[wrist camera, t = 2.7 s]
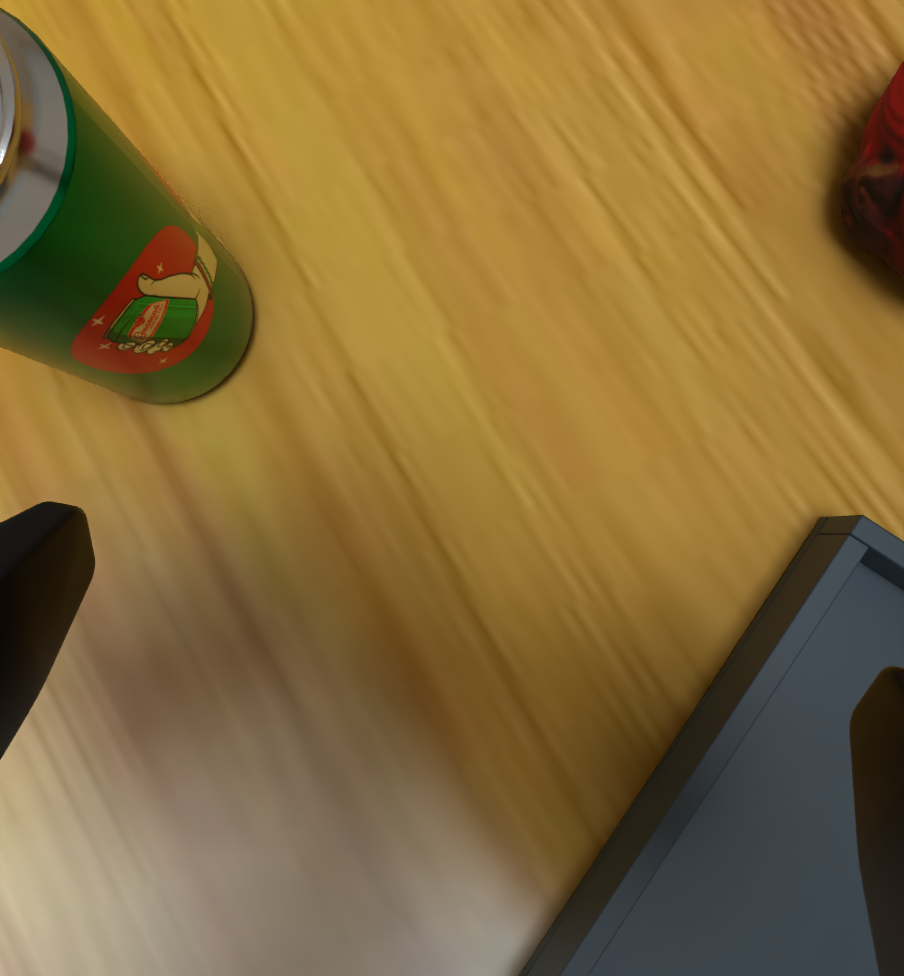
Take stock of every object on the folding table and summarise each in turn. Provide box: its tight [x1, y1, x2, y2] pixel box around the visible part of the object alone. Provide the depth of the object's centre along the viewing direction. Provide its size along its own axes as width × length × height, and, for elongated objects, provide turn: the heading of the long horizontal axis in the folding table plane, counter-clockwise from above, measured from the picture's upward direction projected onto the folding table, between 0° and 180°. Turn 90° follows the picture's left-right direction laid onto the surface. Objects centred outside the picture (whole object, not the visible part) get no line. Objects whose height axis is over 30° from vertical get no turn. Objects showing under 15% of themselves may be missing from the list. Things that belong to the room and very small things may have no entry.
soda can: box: [0, 8, 253, 404], centre depth 18 cm, size 5×5×12 cm
